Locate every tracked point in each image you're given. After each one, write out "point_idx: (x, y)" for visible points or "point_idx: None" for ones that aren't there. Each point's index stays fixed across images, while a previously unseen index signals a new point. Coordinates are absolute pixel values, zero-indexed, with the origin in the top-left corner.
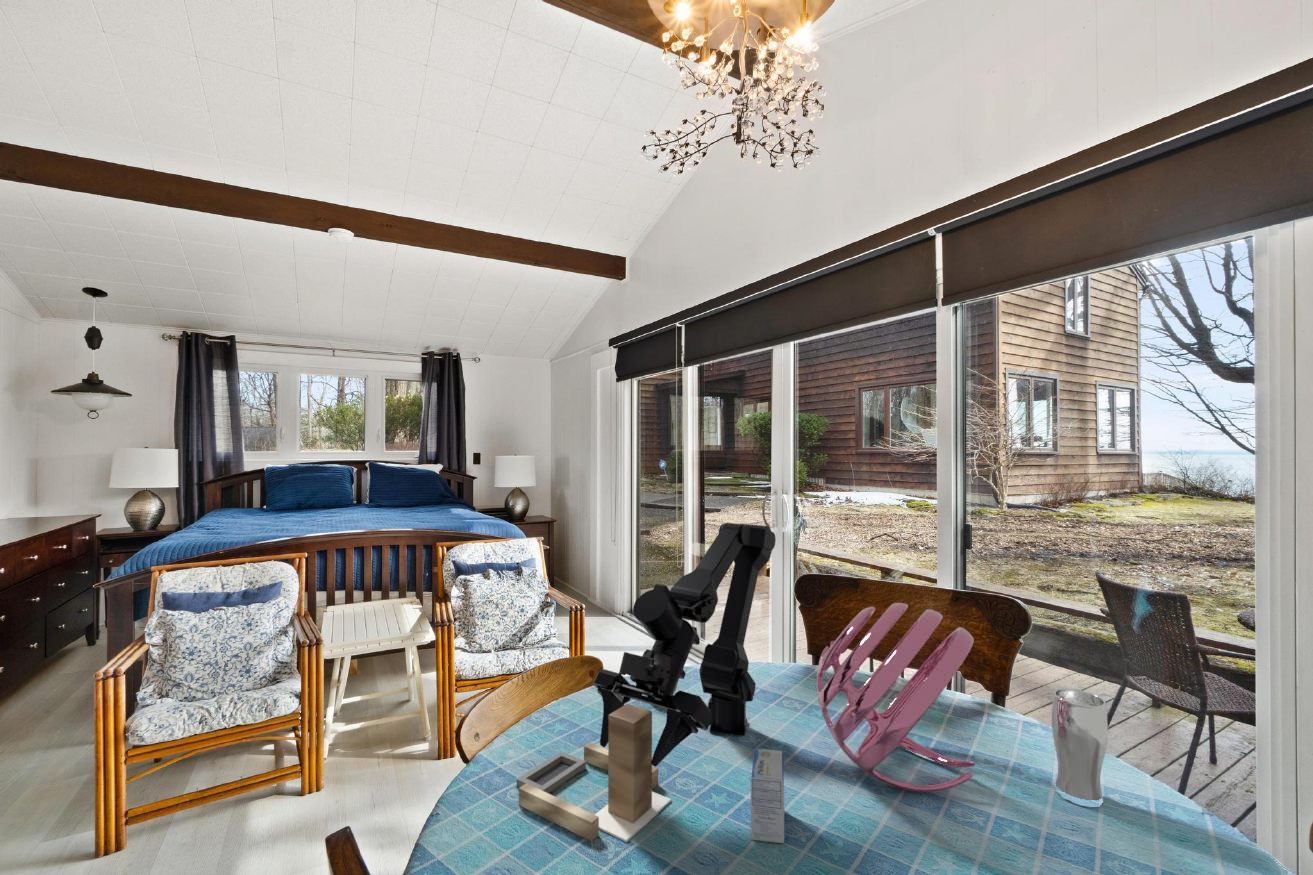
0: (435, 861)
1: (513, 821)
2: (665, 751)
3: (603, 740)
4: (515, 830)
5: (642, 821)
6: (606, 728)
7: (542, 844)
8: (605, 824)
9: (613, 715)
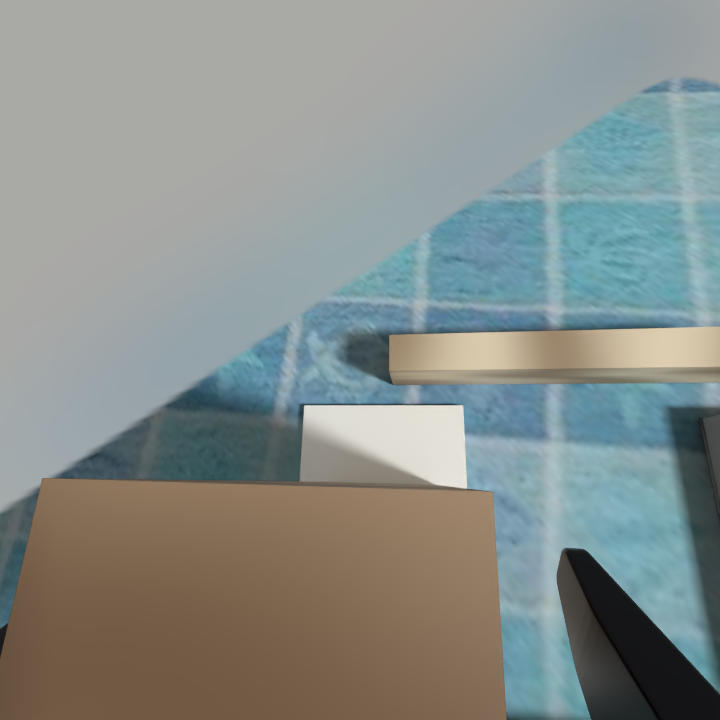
0: (667, 84)
1: (660, 283)
2: None
3: (574, 575)
4: (615, 261)
5: None
6: (621, 656)
7: (499, 268)
8: (401, 426)
9: (414, 522)
